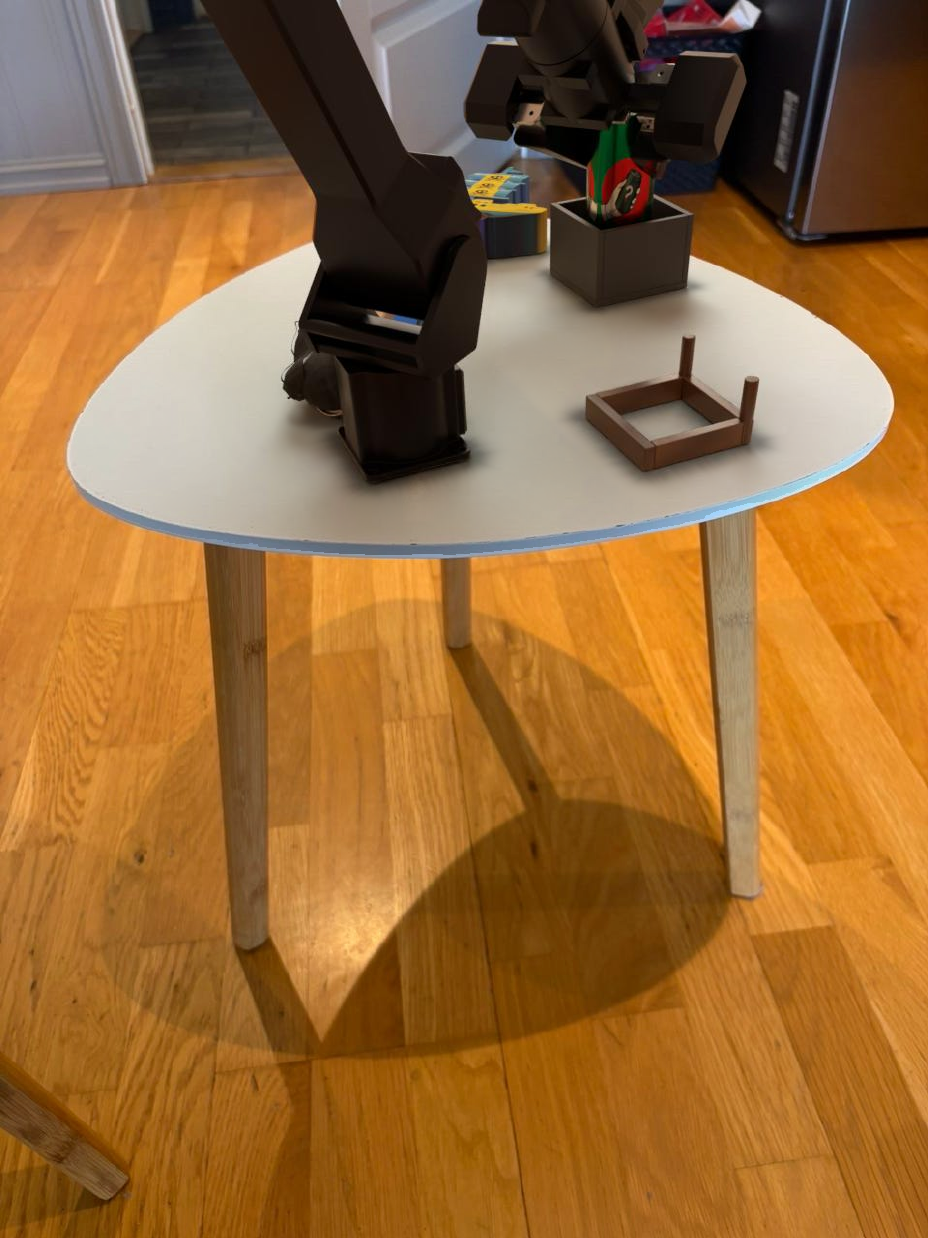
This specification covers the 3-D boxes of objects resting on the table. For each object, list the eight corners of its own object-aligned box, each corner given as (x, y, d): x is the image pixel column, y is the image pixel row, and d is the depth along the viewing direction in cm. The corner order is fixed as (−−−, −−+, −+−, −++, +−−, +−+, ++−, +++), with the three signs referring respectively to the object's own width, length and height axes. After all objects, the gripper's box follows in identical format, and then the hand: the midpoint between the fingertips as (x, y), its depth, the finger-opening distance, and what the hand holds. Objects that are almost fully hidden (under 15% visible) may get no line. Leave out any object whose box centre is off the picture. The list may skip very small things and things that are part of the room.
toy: (363, 203, 83) (452, 159, 92) (368, 242, 85) (454, 195, 94) (520, 226, 76) (598, 176, 86) (520, 268, 78) (596, 214, 88)
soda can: (661, 261, 74) (676, 89, 66) (619, 279, 72) (629, 102, 64) (612, 247, 77) (621, 81, 69) (570, 264, 75) (574, 93, 67)
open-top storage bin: (595, 307, 72) (598, 233, 68) (549, 273, 77) (549, 203, 74) (687, 287, 74) (694, 214, 70) (635, 255, 79) (639, 186, 76)
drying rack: (643, 472, 54) (649, 408, 51) (584, 416, 59) (586, 356, 56) (752, 442, 55) (762, 379, 53) (684, 391, 61) (691, 331, 58)
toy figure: (312, 334, 71) (277, 424, 59) (309, 249, 67) (272, 326, 55) (406, 341, 71) (391, 432, 59) (409, 256, 67) (393, 335, 56)
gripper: (759, -109, 53) (789, 76, 67) (478, -103, 61) (557, 61, 75) (689, 78, 53) (734, 224, 67) (417, 60, 61) (508, 193, 75)
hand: (628, 169), depth 71 cm, fingers closed on soda can, 5 cm apart
